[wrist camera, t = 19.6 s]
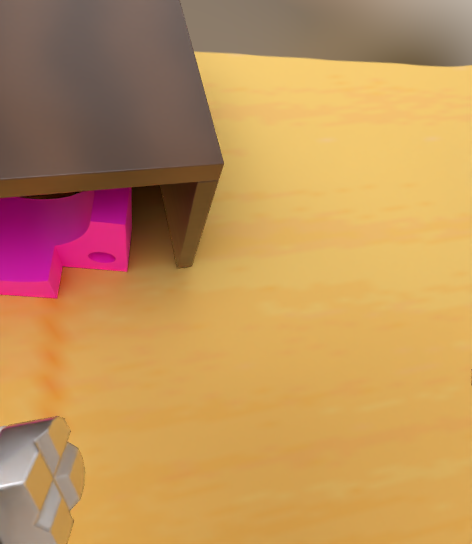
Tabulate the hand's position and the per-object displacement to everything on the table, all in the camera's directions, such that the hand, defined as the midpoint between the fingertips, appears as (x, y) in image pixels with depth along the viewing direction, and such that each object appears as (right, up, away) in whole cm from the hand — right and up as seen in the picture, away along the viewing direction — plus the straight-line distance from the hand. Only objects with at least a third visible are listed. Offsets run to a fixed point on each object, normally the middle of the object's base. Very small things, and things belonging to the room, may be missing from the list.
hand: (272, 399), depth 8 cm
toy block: (-16, +4, +23) cm, 28 cm away
